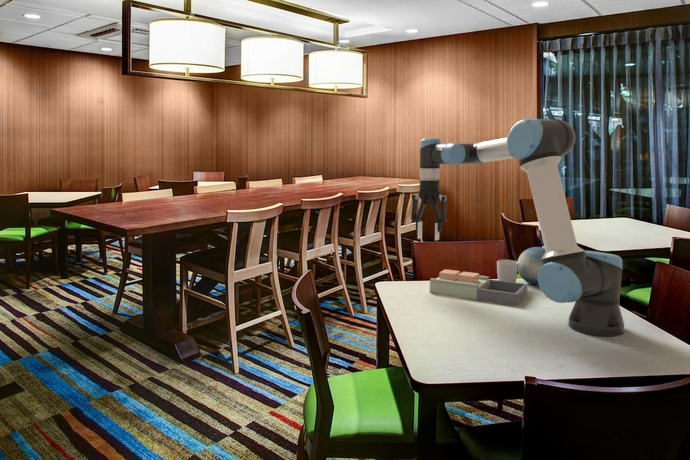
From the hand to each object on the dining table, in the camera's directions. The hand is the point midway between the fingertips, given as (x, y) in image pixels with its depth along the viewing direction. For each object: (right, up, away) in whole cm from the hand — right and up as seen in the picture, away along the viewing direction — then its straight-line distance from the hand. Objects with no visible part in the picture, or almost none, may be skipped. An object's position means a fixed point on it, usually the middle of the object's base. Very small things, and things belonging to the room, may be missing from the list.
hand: (428, 239), depth 202 cm
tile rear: (+8, -16, -2) cm, 17 cm away
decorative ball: (+44, -18, +6) cm, 48 cm away
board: (+11, -20, -4) cm, 23 cm away
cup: (+31, -19, +2) cm, 36 cm away
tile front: (+14, -16, -6) cm, 22 cm away
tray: (+25, -21, -12) cm, 35 cm away
